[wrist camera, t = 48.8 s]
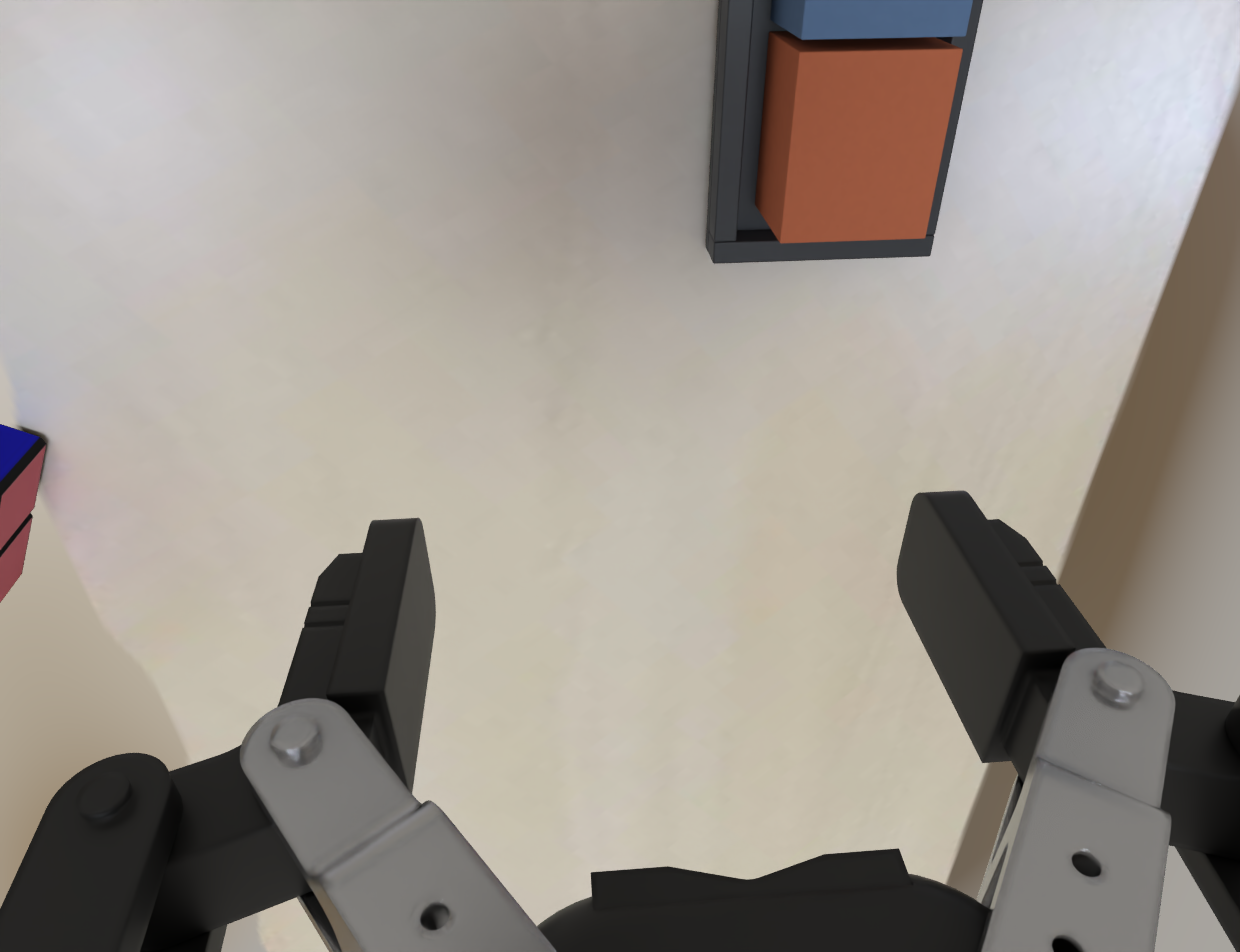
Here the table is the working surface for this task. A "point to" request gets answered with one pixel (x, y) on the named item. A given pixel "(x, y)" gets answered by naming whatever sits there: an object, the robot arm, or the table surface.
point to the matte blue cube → (872, 18)
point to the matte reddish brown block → (853, 136)
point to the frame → (737, 144)
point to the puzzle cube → (17, 499)
